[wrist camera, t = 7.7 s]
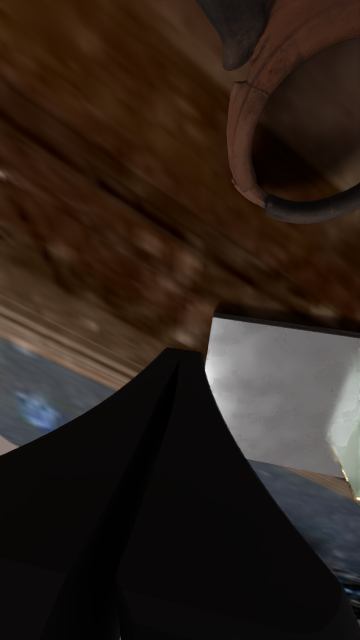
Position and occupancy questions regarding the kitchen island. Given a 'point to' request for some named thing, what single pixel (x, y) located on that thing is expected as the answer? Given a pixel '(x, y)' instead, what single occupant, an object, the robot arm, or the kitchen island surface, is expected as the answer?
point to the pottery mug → (276, 82)
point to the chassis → (286, 390)
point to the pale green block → (353, 459)
